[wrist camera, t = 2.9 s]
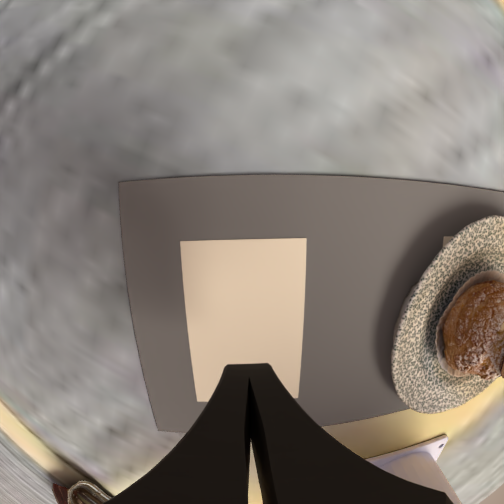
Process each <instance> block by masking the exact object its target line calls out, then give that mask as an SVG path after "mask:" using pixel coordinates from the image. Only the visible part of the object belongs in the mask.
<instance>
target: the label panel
mask: <svg viewBox="0 0 504 504" xmlns="http://www.w3.org/2000/svg"><path fill="white" fill-rule="evenodd" d="M119 204H120V220H121V233H122V244H123V254H124V263H125V272H126V280H127V287H128V294H129V301H130V307H131V314H132V319H133V325H134V331H135V336H136V341H137V346H138V351H139V356H140V361H141V365H142V370H143V374H144V378H145V383H146V387H147V391H148V395H149V399H150V402H151V406H152V410H153V413H154V417H155V421H156V424H157V427H158V431H167V432H182V433H187V432H188V431H189V429H190V428H191V427H192V425H193V424H194V423H195V421H196V420H197V418H198V417H199V415H200V414H201V412H202V411H203V410H204V408H205V406H206V405H207V403H208V401H209V399H210V398H211V396H212V394H213V392H214V391H215V389H216V387H217V385H218V383H219V380H220V378H221V375H222V373H223V370H224V367H225V366H226V365H227V364H254V363H269V364H270V365H271V366H272V368H273V370H274V372H275V373H276V375H277V377H278V378H279V380H280V381H281V382H282V384H283V385H284V387H285V388H286V389H287V391H288V392H289V393H290V394H291V396H292V397H293V398H294V399H295V400H296V402H297V403H298V404H299V405H300V406H301V407H302V409H303V410H304V411H305V412H306V413H307V414H308V415H309V416H310V417H311V418H312V419H313V420H314V421H315V422H316V423H317V424H318V425H319V426H320V427H322V426H329V425H335V424H341V423H347V422H353V421H358V420H363V419H368V418H373V417H377V416H382V415H386V414H390V413H394V412H398V411H402V410H406V409H410V408H409V407H408V406H407V405H406V404H405V403H403V401H402V400H401V399H400V398H399V396H398V395H397V392H396V390H395V386H394V384H393V378H392V367H391V350H392V348H393V335H394V329H395V328H394V327H395V324H396V322H397V319H398V317H399V311H400V309H401V307H402V304H403V302H404V299H405V298H406V296H407V294H408V293H409V291H410V288H411V286H412V285H414V284H415V283H416V282H419V281H420V279H421V277H422V275H423V273H424V272H425V270H426V269H427V268H428V266H429V265H430V264H431V262H432V261H433V259H434V258H435V256H436V255H437V254H438V253H439V252H440V251H441V250H442V248H443V247H444V246H445V245H446V244H447V243H448V241H449V240H451V239H452V237H453V236H455V235H456V234H457V233H458V232H460V231H461V230H462V229H463V228H464V227H465V226H467V225H469V224H471V223H473V222H476V221H477V220H480V219H482V218H485V217H488V216H494V215H496V216H503V217H504V192H499V191H493V190H486V189H479V188H472V187H465V186H457V185H449V184H440V183H430V182H420V181H409V180H397V179H384V178H369V177H350V176H324V175H225V176H199V177H180V178H164V179H150V180H138V181H127V182H119ZM500 376H501V375H499V376H498V377H500ZM498 377H497V378H498Z"/></svg>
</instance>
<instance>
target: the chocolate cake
mask: <svg viewBox="0 0 504 504" xmlns="http://www.w3.org/2000/svg"><path fill="white" fill-rule="evenodd" d="M52 491H53V493H54V496H55V498H56V501H57V503H58V504H102V503H104V502H106V501H108V500H110V499H111V497H109V496H108V495H106V494H105V493H104V492H103V491H102V490H100V489H99V488H98V487H97V486H96V485H94V484H92V483H90V482H86V481H79V482H78V483H76V485H73V486H72V487H71V488H70V489H68V488H66V487H62V486H59V485H57V484H55V483H53V487H52Z"/></svg>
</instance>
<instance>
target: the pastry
mask: <svg viewBox="0 0 504 504" xmlns="http://www.w3.org/2000/svg"><path fill="white" fill-rule="evenodd" d="M394 328H395V329H394V335H393V348H392V350H391V367H392V378H393V384H394V386H395V390H396V392H397V395H398V396H399V398H400V399H401V400H402V401H403V403H405V404H406V405H407V406H408V407H409V408H411V409H413V410H414V411H417V412H420V413H427V414H432V413H440V412H443V411H446V410H449V409H452V408H455V407H458V406H460V405H462V404H464V403H466V402H467V401H469V400H470V399H472V398H473V397H475V396H477V395H478V394H480V393H481V392H482V391H484V390H485V389H486V388H487V387H488V386H489V385H490V384H491V383H492V382H493V381H494V380H495V379H496V378H497V377H498V376H499V375H501V376H502V377H503V378H504V217H503V216H496V215H494V216H488V217H485V218H482V219H480V220H477V221H476V222H473V223H471V224H469V225H467V226H465V227H464V228H463V229H462V230H461V231H460V232H458V233H457V234H456V235H455V236H453V237H452V239H451V240H449V241H448V243H447V244H446V245H445V246H444V247H443V248H442V250H441V251H440V252H439V253H438V254H437V255H436V256H435V258H434V259H433V261H432V262H431V264H430V265H429V266H428V268H427V269H426V270H425V272H424V273H423V275H422V277H421V279H420V281H419V282H416V283H415V284H414V285H412V286H411V288H410V291H409V293H408V294H407V296H406V298H405V299H404V302H403V304H402V307H401V309H400V311H399V317H398V319H397V322H396V324H395V327H394Z"/></svg>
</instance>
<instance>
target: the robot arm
mask: <svg viewBox="0 0 504 504" xmlns="http://www.w3.org/2000/svg"><path fill="white" fill-rule="evenodd" d="M447 441H448V437H447V435H442V436H439V437H437V438H434V439H431V440H429V441H426V442H423V443H420V444H417V445H414V446H411V447H408V448H405V449H401V450H398V451H394V452H391V453H387V454H384V455H380V456H376V457H372V458H368V459H363V458H361V457H360V456H358V455H356V454H355V453H353V452H352V451H351V450H349V449H348V448H346V447H345V446H344V445H342V444H341V443H339V442H338V441H337V440H336V439H334V438H333V437H332V436H331V435H329V434H328V433H327V432H326V431H325V430H324V429H322V428H321V427H320V426H319V425H318V424H317V423H316V422H315V421H314V420H313V419H312V418H311V417H310V416H309V415H308V414H307V413H306V412H305V411H304V410H303V409H302V407H301V406H300V405H299V404H298V403H297V402H296V400H295V399H294V398H293V397H292V396H291V394H290V393H289V392H288V391H287V389H286V388H285V387H284V385H283V384H282V382H281V381H280V380H279V378H278V377H277V375H276V373H275V372H274V370H273V368H272V366H271V365H270V364H269V363H254V364H227V365H226V366H225V367H224V370H223V373H222V375H221V378H220V380H219V383H218V385H217V387H216V389H215V391H214V392H213V394H212V396H211V398H210V399H209V401H208V403H207V405H206V406H205V408H204V410H203V411H202V412H201V414H200V415H199V417H198V418H197V420H196V421H195V423H194V424H193V425H192V427H191V428H190V429H189V431H188V432H187V433H186V434H185V436H184V437H183V438H182V439H181V440H180V442H179V443H178V444H177V445H176V446H175V447H174V448H173V449H172V450H171V451H170V452H169V453H168V454H167V455H166V456H165V457H164V458H163V459H162V460H161V461H160V462H159V463H158V464H157V465H156V466H155V467H154V468H153V469H151V470H150V471H149V472H148V473H147V474H145V475H144V476H143V477H141V478H140V479H139V480H137V481H136V482H135V483H133V484H132V485H131V486H129V487H128V488H127V489H125V490H124V491H122V492H121V493H119V494H118V495H116V496H115V497H113V498H111V499H110V500H108V501H106V502H104V503H102V504H248V484H249V463H250V442H252V448H253V453H254V458H255V463H256V469H257V474H258V479H259V484H260V488H261V493H262V500H263V504H462V503H461V501H460V500H459V498H458V496H457V495H456V493H455V492H454V490H453V488H452V487H451V485H450V484H449V482H448V480H447V479H446V477H445V476H444V474H443V472H442V471H441V469H440V468H439V466H438V465H437V463H436V460H437V458H438V457H439V455H440V453H441V451H442V450H443V448H444V446H445V444H446V442H447Z"/></svg>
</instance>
